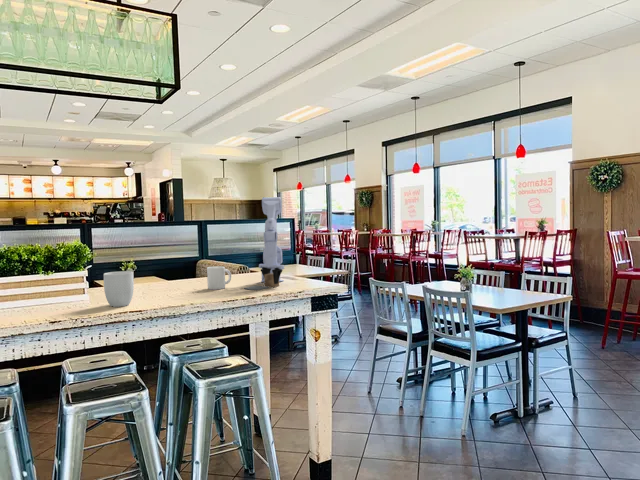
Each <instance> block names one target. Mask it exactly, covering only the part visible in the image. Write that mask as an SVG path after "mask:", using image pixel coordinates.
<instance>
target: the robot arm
mask: <svg viewBox="0 0 640 480" xmlns="http://www.w3.org/2000/svg"><path fill="white" fill-rule="evenodd" d="M261 207H262V212H263V214H264V215H265V216H266V217H267V219H266V220H265V222H264V223H265V224H264V232H263V242H264V249H263V251H262V252H263V254H262V260H263V261H262V262H263V263H259V264H258V269H260V272H261V280H260V282H261V283H265V281H264V274H270V273H273V276H274V284H278V282H279V283H280V282H284V281H285V280H284V279H281V274H282V272H283V270H284V269H285V265H284V264H282V263H283V249H282V248H281V247H280V246H278V231H277V230H278V229H277V227H278V225H277V223H278V222H277V218H278V215H280V214H281V212H282V197H280V196H277V197H276V196H273V197H272V196H271V197H270V196H269V197H265V196H264V197H262V198H261Z"/></svg>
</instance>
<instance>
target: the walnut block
mask: <svg viewBox="0 0 640 480" xmlns="http://www.w3.org/2000/svg"><path fill="white" fill-rule="evenodd" d="M264 281H265V282H264V286H266V287H268V288H275V287H276V286H277V287H280V282H278V284H274V276H273V273H270V274H264Z"/></svg>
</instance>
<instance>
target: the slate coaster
mask: <svg viewBox="0 0 640 480" xmlns="http://www.w3.org/2000/svg"><path fill="white" fill-rule="evenodd" d="M265 289H269V287H266V286H265V285H264V286H263V285H251V286H248V287H247V286H245V287H244V290H250V291H260V290H265Z"/></svg>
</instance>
